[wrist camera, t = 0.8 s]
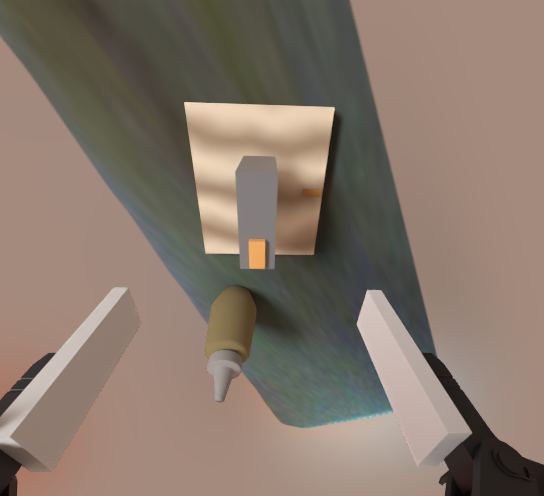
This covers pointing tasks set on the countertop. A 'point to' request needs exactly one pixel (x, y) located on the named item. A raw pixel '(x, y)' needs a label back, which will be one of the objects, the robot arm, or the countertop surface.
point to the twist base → (259, 142)
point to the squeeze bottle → (229, 336)
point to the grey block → (257, 211)
